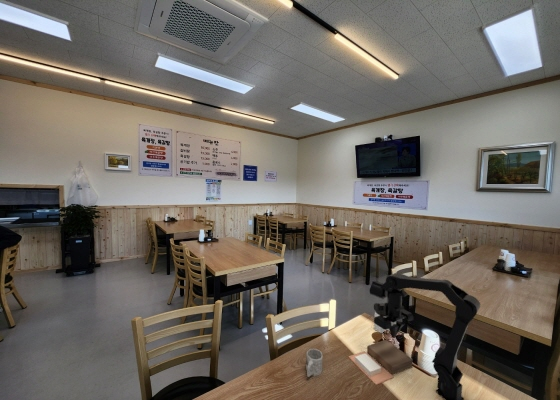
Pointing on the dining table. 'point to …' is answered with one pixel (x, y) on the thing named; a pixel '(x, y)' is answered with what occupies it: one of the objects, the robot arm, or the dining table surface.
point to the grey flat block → (367, 364)
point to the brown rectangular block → (389, 357)
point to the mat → (375, 378)
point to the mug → (314, 362)
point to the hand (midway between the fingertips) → (393, 337)
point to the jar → (377, 325)
